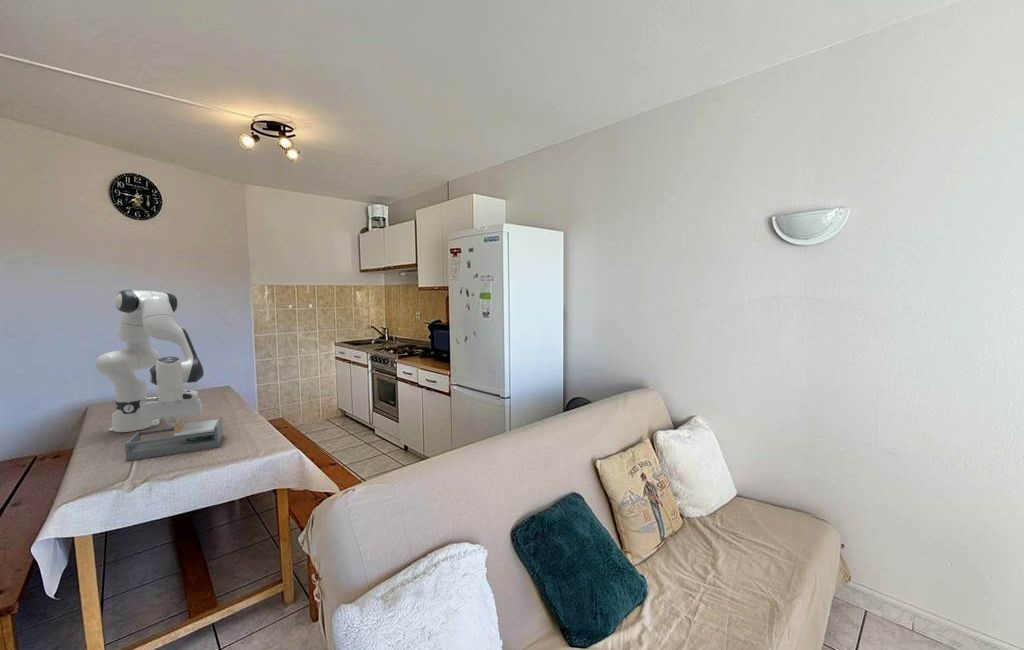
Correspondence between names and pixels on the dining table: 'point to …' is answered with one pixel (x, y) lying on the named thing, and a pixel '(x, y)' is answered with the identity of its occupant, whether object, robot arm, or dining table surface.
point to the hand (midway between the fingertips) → (173, 427)
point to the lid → (194, 427)
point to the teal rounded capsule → (194, 438)
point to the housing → (171, 443)
